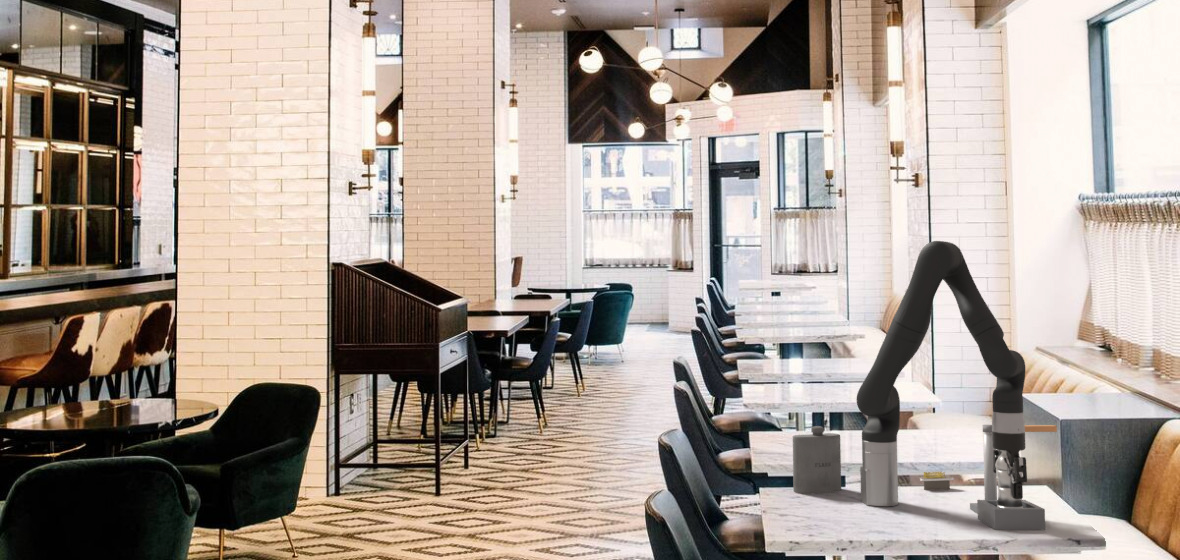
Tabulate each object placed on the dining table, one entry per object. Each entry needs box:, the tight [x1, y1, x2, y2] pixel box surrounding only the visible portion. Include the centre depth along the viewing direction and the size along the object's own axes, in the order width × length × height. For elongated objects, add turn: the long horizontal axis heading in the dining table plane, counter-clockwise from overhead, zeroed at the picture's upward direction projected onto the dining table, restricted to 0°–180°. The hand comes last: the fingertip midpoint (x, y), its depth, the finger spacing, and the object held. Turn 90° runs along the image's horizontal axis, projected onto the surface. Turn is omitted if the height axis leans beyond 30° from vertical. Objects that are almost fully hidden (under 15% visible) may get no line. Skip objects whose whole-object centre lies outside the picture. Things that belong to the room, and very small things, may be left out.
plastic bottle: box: [995, 450, 1023, 508], centre depth 229 cm, size 6×7×20 cm
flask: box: [792, 425, 842, 495], centre depth 266 cm, size 15×6×20 cm, turn 107°
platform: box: [919, 471, 955, 491], centre depth 268 cm, size 12×18×7 cm, turn 98°
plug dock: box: [969, 432, 1046, 531], centre depth 234 cm, size 12×22×21 cm, turn 178°
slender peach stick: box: [982, 424, 1058, 433], centre depth 240 cm, size 19×3×2 cm, turn 87°
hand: (1010, 495), depth 228 cm, fingers open, 8 cm apart
